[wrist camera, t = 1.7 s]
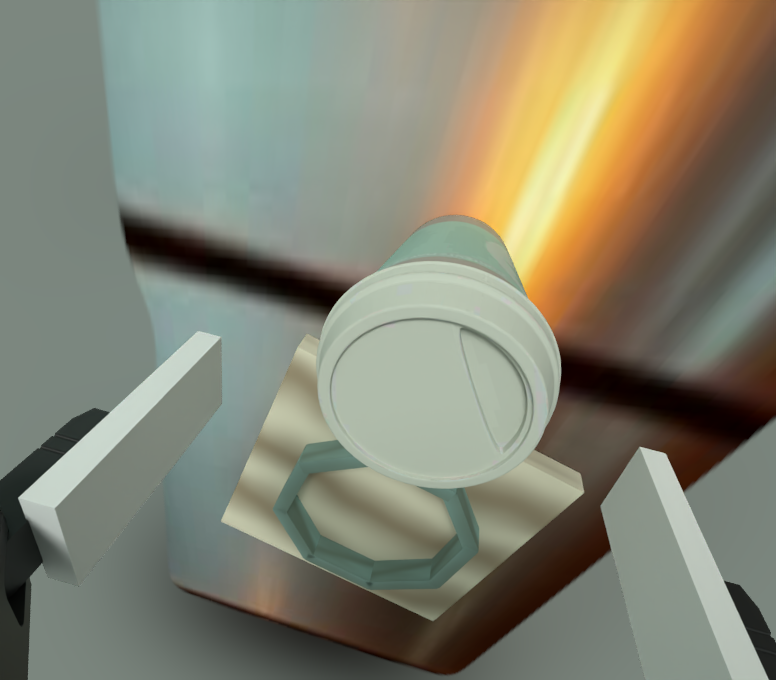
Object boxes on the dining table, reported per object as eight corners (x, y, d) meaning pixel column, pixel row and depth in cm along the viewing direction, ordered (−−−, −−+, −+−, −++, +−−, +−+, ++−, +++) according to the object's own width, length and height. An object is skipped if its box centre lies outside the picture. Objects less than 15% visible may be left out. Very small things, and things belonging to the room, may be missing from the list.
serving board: (306, 333, 29) (286, 363, 26) (580, 473, 31) (589, 516, 28) (230, 505, 40) (209, 540, 37) (435, 603, 41) (430, 643, 38)
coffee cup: (504, 353, 27) (510, 527, 17) (364, 313, 28) (289, 459, 18) (564, 212, 23) (621, 336, 12) (395, 166, 23) (317, 251, 13)
